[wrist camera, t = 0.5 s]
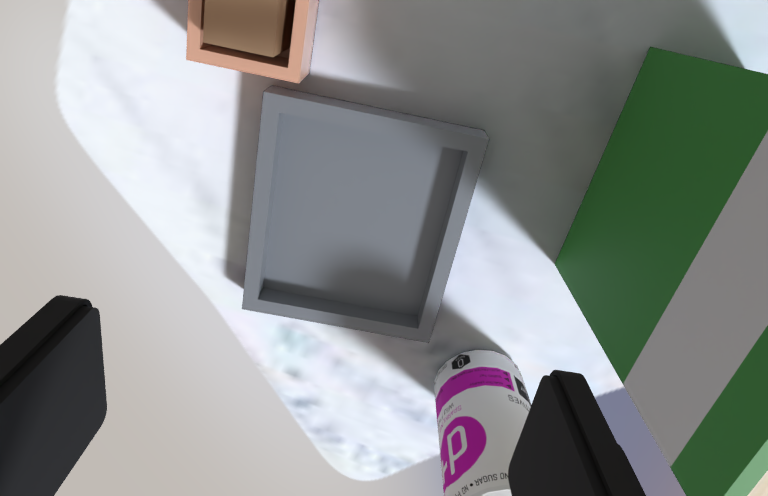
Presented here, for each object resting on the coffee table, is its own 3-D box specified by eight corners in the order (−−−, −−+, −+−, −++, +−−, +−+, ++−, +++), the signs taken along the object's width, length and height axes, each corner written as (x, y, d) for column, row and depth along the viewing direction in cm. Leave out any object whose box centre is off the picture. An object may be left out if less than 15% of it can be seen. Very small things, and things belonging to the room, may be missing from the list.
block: (234, -33, 35) (206, -36, 30) (297, -19, 35) (280, -20, 30) (229, 34, 37) (202, 42, 32) (289, 47, 37) (272, 57, 32)
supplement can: (416, 388, 51) (423, 533, 37) (470, 330, 48) (499, 465, 34) (482, 425, 53) (512, 576, 39) (538, 371, 49) (591, 515, 36)
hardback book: (636, 283, 45) (855, 553, 24) (554, 264, 44) (702, 523, 23) (747, 73, 37) (1221, 189, 16) (650, 46, 37) (1007, 130, 15)
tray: (271, 85, 39) (263, 91, 36) (484, 130, 40) (489, 138, 37) (249, 293, 46) (241, 308, 44) (427, 326, 47) (428, 342, 45)
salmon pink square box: (215, -63, 34) (190, -70, 30) (324, -39, 35) (314, -42, 31) (209, 51, 38) (186, 59, 34) (309, 73, 38) (298, 83, 34)
